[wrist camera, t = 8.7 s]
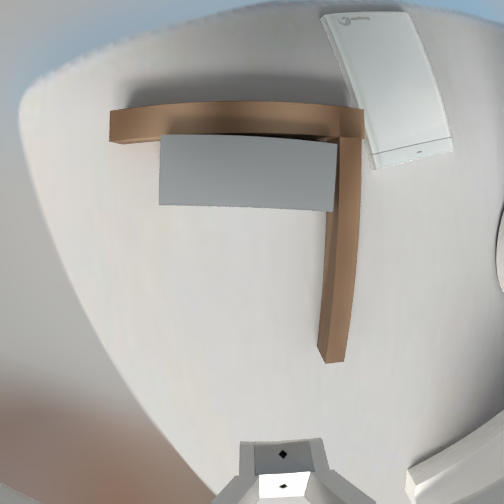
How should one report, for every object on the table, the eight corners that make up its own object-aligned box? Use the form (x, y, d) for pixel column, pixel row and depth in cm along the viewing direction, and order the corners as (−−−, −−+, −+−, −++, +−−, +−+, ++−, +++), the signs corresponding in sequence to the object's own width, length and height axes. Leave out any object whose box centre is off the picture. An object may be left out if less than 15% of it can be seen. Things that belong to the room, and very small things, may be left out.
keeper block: (318, 148, 21) (337, 144, 17) (315, 204, 22) (332, 211, 18) (173, 141, 20) (161, 134, 16) (171, 199, 21) (158, 205, 17)
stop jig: (350, 115, 20) (364, 109, 17) (337, 344, 24) (346, 361, 22) (122, 117, 19) (110, 110, 16) (142, 350, 23) (134, 368, 21)
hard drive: (323, 13, 17) (377, 170, 20) (410, 11, 17) (458, 150, 20) (317, 22, 18) (368, 170, 22) (401, 18, 18) (446, 150, 21)
